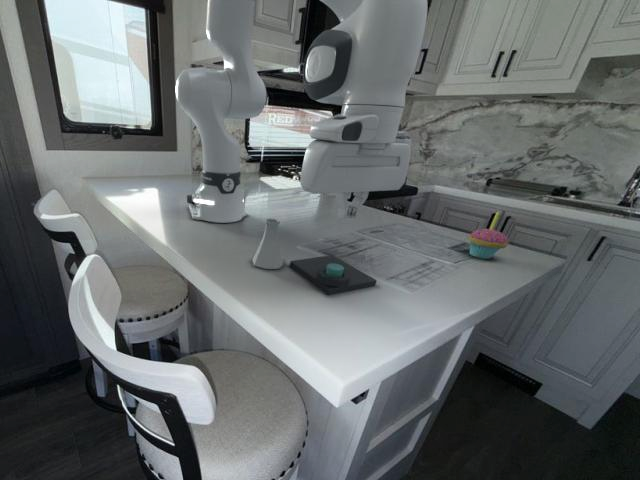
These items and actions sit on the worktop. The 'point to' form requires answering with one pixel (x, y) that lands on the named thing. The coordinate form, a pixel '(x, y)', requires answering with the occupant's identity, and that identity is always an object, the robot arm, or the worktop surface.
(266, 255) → the flask
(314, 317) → the worktop surface
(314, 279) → the black flat block
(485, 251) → the cupcake
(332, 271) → the button
